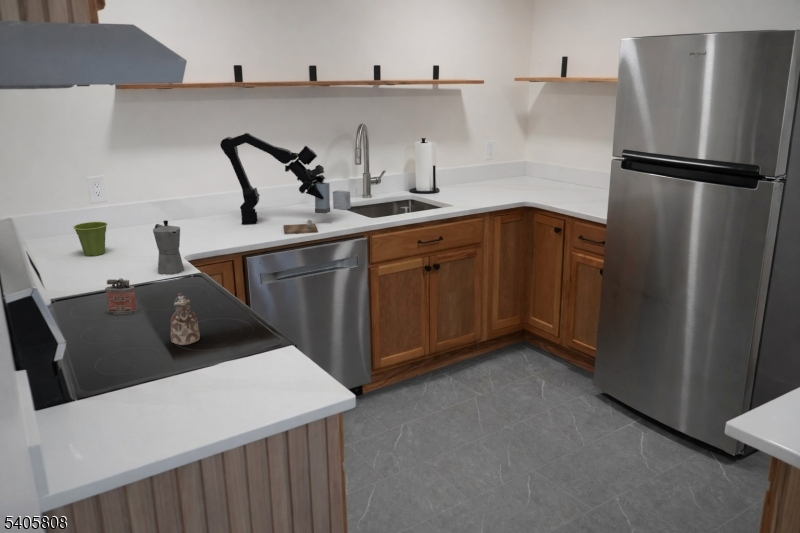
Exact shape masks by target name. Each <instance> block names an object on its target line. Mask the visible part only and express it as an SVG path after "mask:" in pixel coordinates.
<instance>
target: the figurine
mask: <svg viewBox="0 0 800 533" xmlns="http://www.w3.org/2000/svg"><path fill="white" fill-rule="evenodd" d="M173 307H174V312H173V314H172V315H171V318H170V341H171V343H174V344H176V345H179V346H185V345H191V344H193V343H196V342H198V341H200V337H201V335H200V329H199V323H198V317H197V316H196V313H195V312H194V311H193V310H191V300H190V299H189V298H188V297H187V296H185V295H183V293H181V292H179V293H178V294H177V297H176V298H175V299H174V301H173Z"/></svg>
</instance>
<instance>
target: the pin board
mask: <svg viewBox="0 0 800 533" xmlns="http://www.w3.org/2000/svg"><path fill="white" fill-rule="evenodd" d="M282 226H283V232H284V233H283V234H284V235H294V234H295V235H296V234H297V235H298V234H314V233H319V231H318V227H317V225H316V223H313V222H312V220H311V219H308V220H306V223H302V224H301V223H300V224H298V223H297V224H283V225H282Z"/></svg>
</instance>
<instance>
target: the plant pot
mask: <svg viewBox="0 0 800 533" xmlns="http://www.w3.org/2000/svg"><path fill="white" fill-rule="evenodd" d="M107 226H108V223H107V222H106V221H91V222H90V221H88V222H82V223H78V224H76V225H73V226H72V227H73V230H75V232H76V235H77V237H78V240H79V243H80V245H81V248H82V251H83V255H84V256H87V257H90V256H94V257H96V256H101V255H103V254H104V253H105V252H106V232H107Z"/></svg>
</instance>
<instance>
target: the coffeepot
mask: <svg viewBox="0 0 800 533" xmlns="http://www.w3.org/2000/svg"><path fill="white" fill-rule="evenodd" d="M152 232H153V235H154V240H155V243H156V247H157V250H158V260H157V261H158V262H157V273H158V274H159V273H160V274H159V275H163V274H170V275H176V274H175V273H177V274H179V272H180V273H182V271H183V272H184V271H185V267H184V264H183V260H182V257H181V253H180V252H181V251H180V245H181V244H180V243H181V242H180V240H181V227H180V226H177V225H176V226H175V225H169V220H166V219H165V220H163V224H159V223H156V224H155V226H154V228H153V229H152Z"/></svg>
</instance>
